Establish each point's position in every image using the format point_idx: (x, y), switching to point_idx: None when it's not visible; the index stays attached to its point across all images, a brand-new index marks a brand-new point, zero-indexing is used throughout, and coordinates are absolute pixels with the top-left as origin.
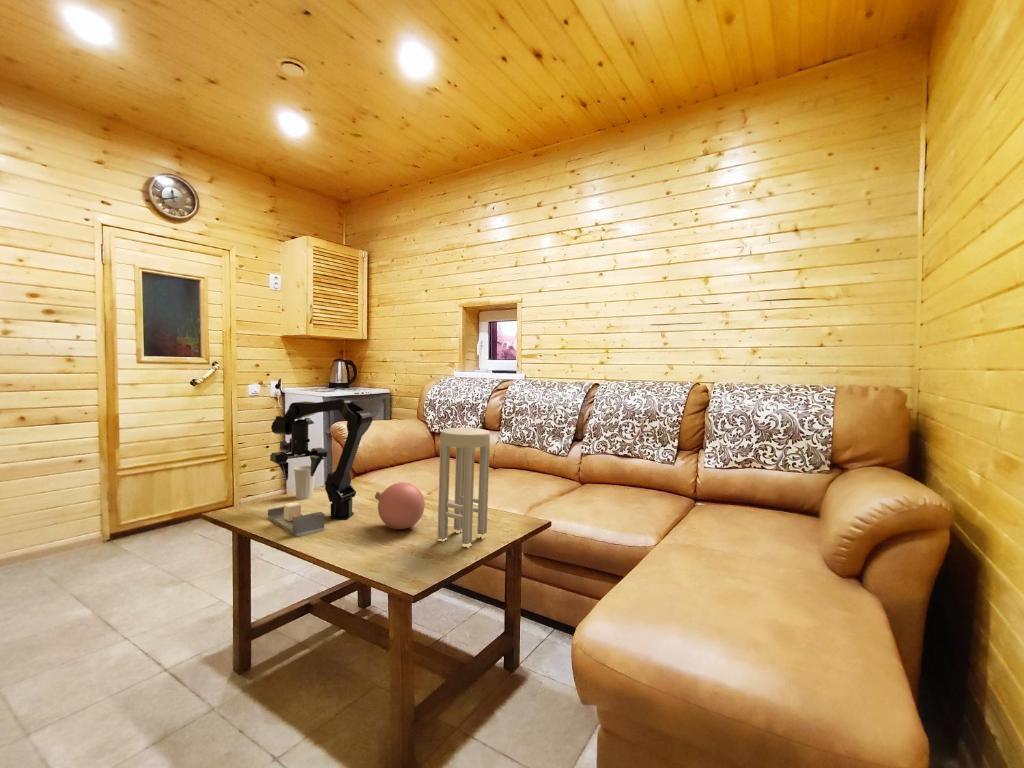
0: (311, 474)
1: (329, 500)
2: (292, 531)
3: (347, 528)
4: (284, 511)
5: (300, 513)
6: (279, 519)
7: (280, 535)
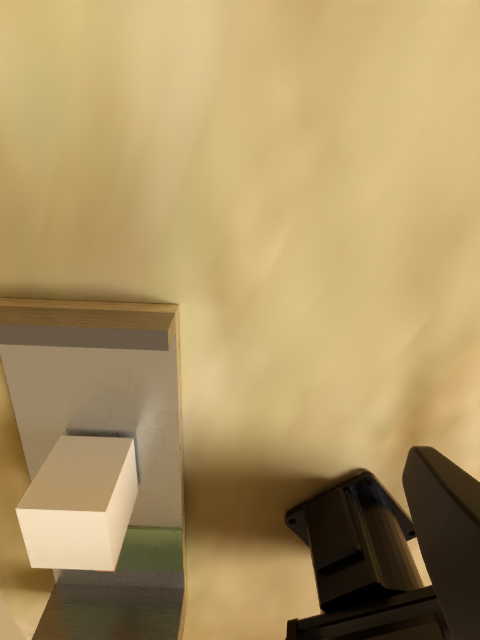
0: (415, 495)
1: (288, 627)
2: (55, 582)
3: (270, 627)
4: (41, 474)
5: (129, 517)
6: (39, 424)
7: (14, 551)
